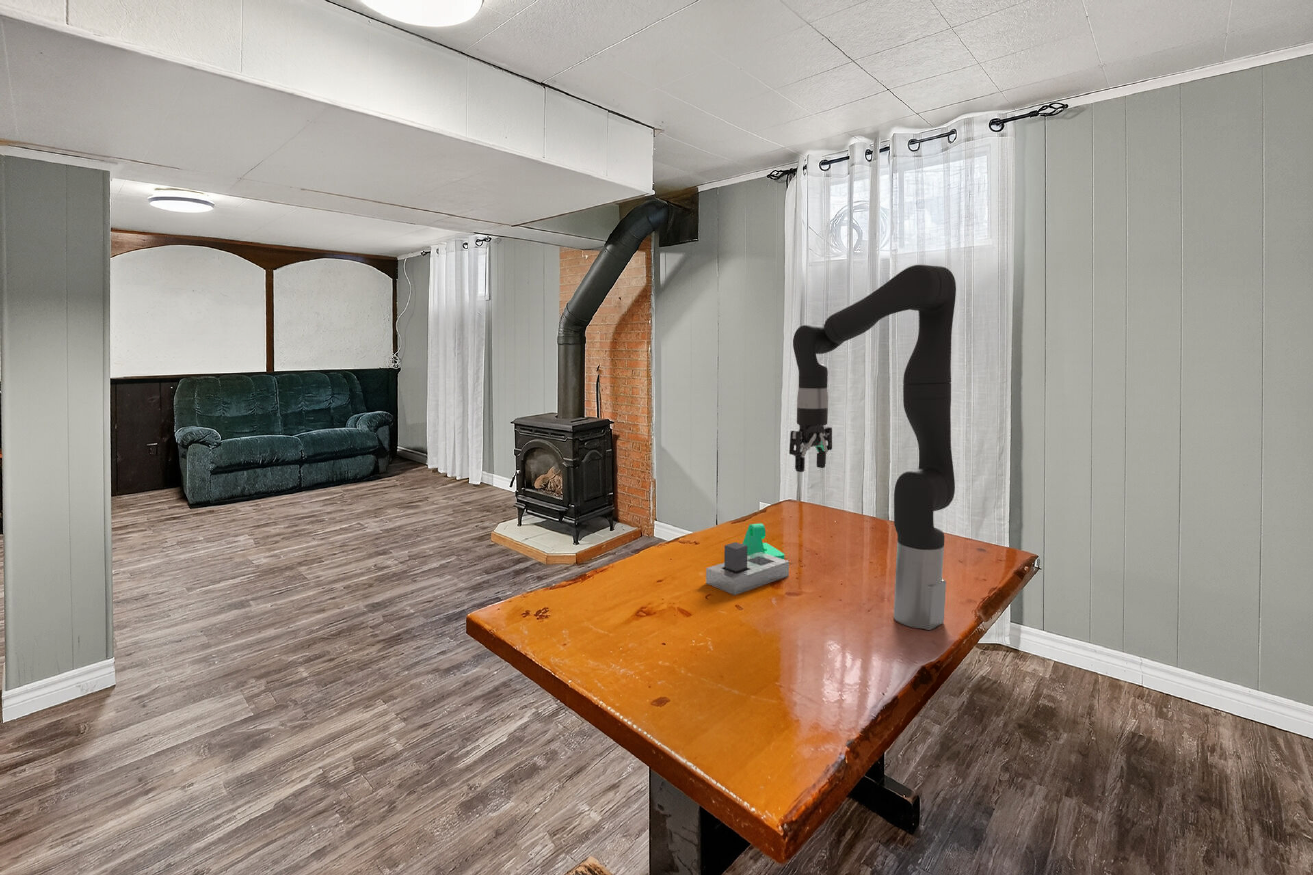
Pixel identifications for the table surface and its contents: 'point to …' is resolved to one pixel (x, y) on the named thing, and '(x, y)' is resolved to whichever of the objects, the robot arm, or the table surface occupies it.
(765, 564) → the rail
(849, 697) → the table surface
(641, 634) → the table surface
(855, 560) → the table surface
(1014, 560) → the table surface
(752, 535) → the camera mount
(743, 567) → the peg
